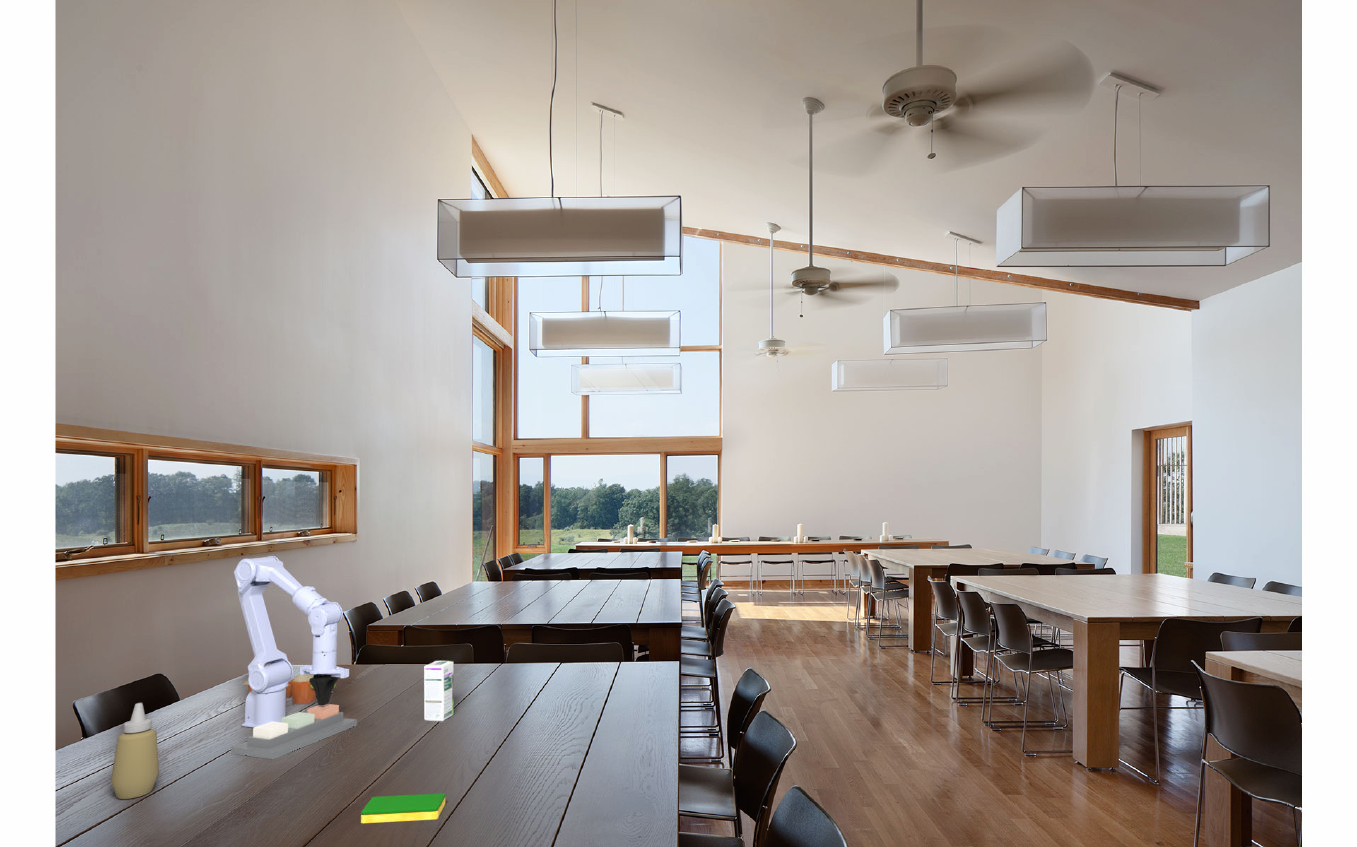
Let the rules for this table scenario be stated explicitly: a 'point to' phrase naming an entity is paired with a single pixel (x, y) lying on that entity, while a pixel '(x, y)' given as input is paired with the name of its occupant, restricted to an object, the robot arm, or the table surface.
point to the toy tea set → (298, 689)
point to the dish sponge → (403, 808)
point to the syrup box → (438, 690)
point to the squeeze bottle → (135, 757)
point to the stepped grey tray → (294, 738)
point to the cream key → (270, 730)
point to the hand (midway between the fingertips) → (323, 704)
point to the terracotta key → (324, 711)
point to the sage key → (298, 720)
